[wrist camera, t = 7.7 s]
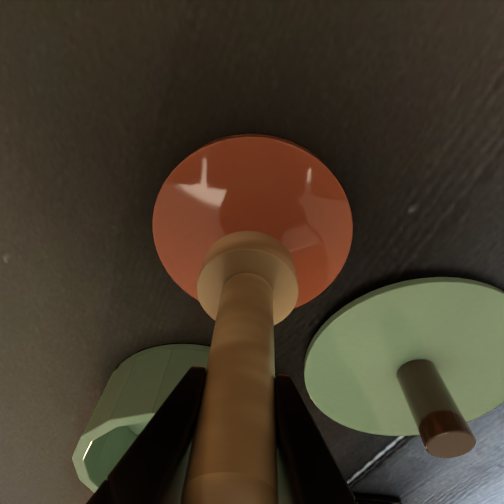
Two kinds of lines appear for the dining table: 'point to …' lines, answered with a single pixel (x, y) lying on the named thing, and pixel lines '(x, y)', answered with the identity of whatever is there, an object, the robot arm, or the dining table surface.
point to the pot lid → (412, 361)
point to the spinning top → (254, 208)
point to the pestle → (240, 371)
